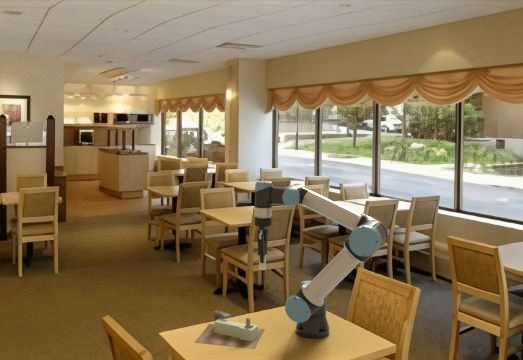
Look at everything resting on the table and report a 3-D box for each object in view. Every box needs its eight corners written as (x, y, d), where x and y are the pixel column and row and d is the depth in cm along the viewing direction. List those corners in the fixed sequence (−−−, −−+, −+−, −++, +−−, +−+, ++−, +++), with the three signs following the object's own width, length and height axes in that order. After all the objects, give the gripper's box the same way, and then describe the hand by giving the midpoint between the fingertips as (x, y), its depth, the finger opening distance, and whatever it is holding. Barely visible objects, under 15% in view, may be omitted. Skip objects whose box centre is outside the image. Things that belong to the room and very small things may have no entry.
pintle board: (264, 331, 242) (265, 309, 241) (254, 351, 221) (254, 327, 220) (209, 325, 247) (209, 304, 246) (194, 344, 226) (194, 322, 225)
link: (258, 336, 234) (258, 325, 233) (251, 341, 228) (252, 330, 228) (219, 328, 242) (220, 318, 241) (213, 333, 236) (213, 322, 236)
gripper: (257, 213, 240) (257, 264, 243) (251, 218, 228) (250, 272, 230) (274, 214, 239) (273, 266, 242) (268, 219, 226) (267, 274, 229)
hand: (262, 269), depth 236 cm, fingers closed
